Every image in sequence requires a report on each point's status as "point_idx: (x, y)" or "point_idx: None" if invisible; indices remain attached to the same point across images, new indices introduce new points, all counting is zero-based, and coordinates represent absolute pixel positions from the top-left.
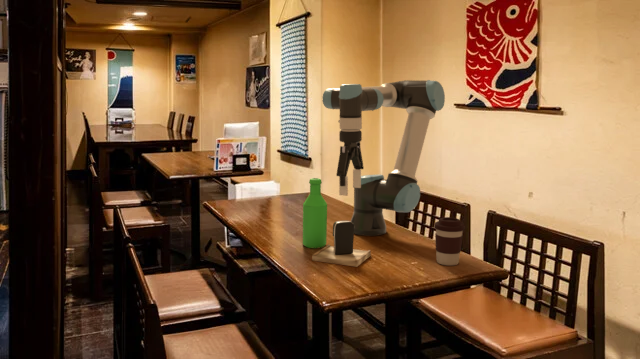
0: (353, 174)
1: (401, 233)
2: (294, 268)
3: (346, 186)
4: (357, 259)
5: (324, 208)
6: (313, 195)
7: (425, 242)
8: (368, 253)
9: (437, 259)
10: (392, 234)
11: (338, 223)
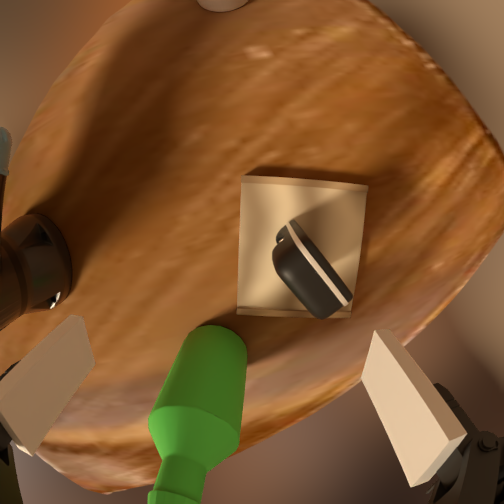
0: (49, 424)
1: (22, 177)
2: (410, 320)
3: (420, 374)
4: (353, 188)
5: (202, 402)
6: (207, 467)
7: (66, 93)
8: (263, 176)
9: (238, 4)
10: (34, 194)
11: (350, 295)
